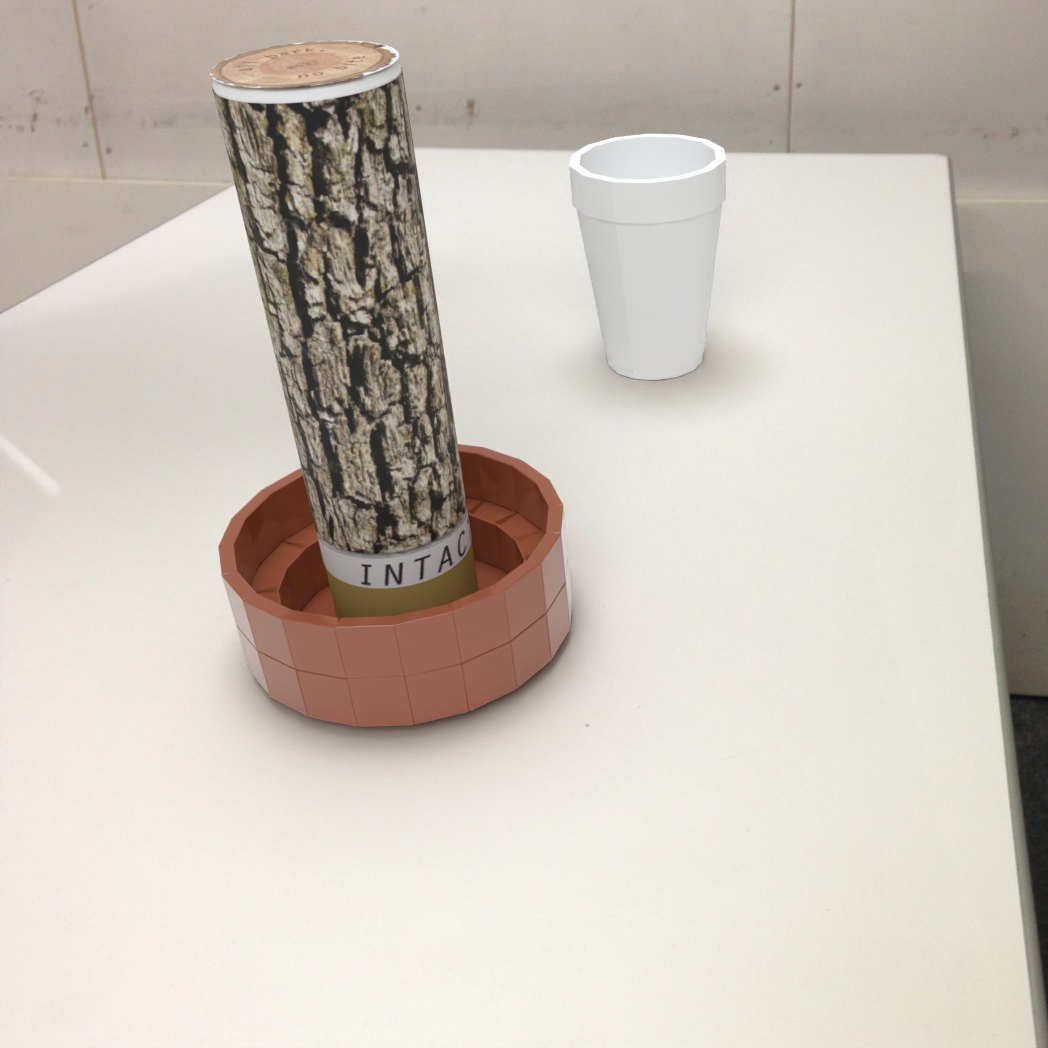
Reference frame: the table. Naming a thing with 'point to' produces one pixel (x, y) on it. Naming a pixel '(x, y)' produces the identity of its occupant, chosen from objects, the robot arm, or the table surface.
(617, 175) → the foam cup
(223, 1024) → the table surface
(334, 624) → the bowl
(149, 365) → the table surface
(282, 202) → the paper tube
